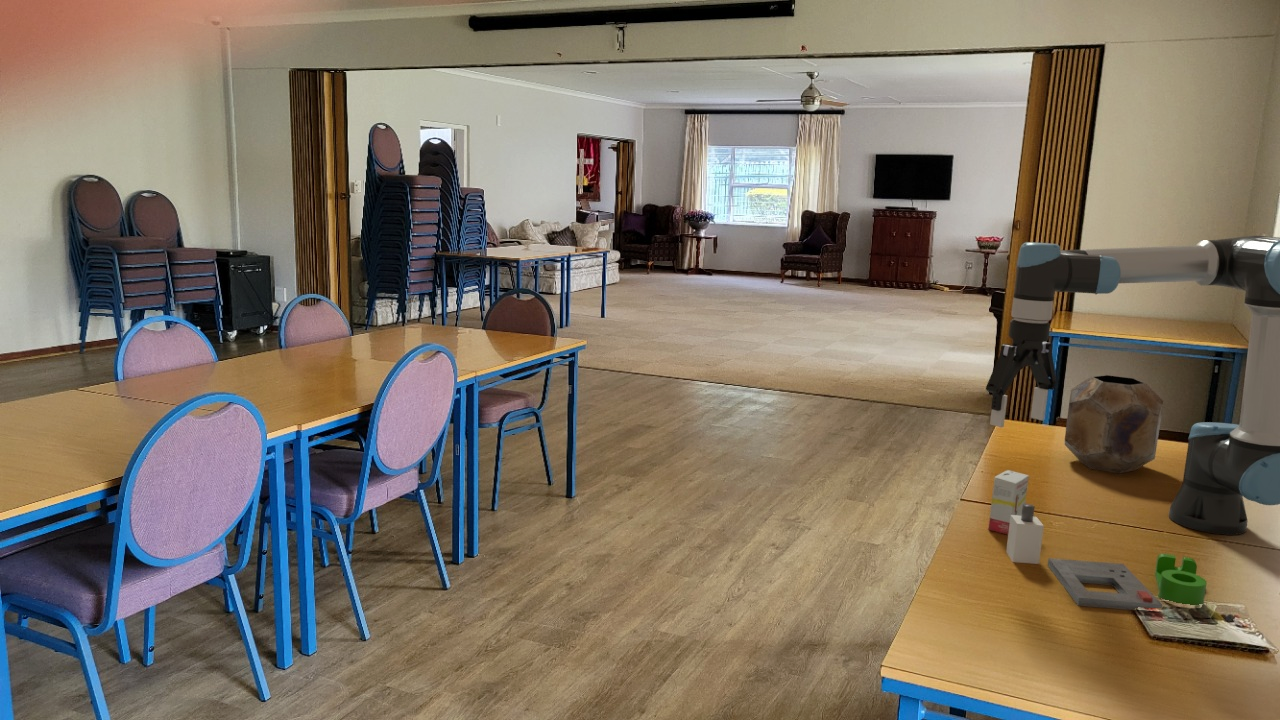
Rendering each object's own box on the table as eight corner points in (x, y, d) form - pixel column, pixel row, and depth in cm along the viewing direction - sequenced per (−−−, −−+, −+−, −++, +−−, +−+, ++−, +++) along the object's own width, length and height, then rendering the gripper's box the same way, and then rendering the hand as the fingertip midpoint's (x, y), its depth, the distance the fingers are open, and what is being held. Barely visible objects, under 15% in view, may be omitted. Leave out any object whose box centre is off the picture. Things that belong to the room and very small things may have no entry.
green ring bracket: (1205, 613, 167) (1209, 589, 166) (1159, 605, 170) (1163, 581, 169) (1194, 582, 180) (1198, 559, 179) (1153, 574, 183) (1156, 552, 182)
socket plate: (1122, 571, 183) (1123, 561, 183) (1160, 612, 166) (1162, 601, 165) (1047, 565, 185) (1048, 555, 185) (1078, 605, 167) (1079, 594, 167)
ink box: (1010, 536, 200) (1016, 483, 198) (987, 530, 203) (992, 477, 201) (1024, 525, 206) (1030, 474, 204) (1001, 520, 210) (1007, 469, 207)
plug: (1031, 554, 191) (1038, 502, 188) (1039, 564, 186) (1045, 511, 184) (1006, 552, 191) (1012, 500, 189) (1012, 561, 186) (1018, 509, 184)
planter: (1174, 480, 243) (1187, 390, 238) (1079, 477, 243) (1091, 387, 239) (1131, 455, 265) (1143, 373, 260) (1044, 452, 265) (1054, 370, 260)
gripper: (1050, 314, 199) (1037, 412, 203) (975, 319, 185) (963, 424, 189) (1083, 320, 193) (1069, 420, 197) (1008, 325, 179) (995, 433, 183)
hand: (1017, 422), depth 193 cm, fingers open, 13 cm apart
